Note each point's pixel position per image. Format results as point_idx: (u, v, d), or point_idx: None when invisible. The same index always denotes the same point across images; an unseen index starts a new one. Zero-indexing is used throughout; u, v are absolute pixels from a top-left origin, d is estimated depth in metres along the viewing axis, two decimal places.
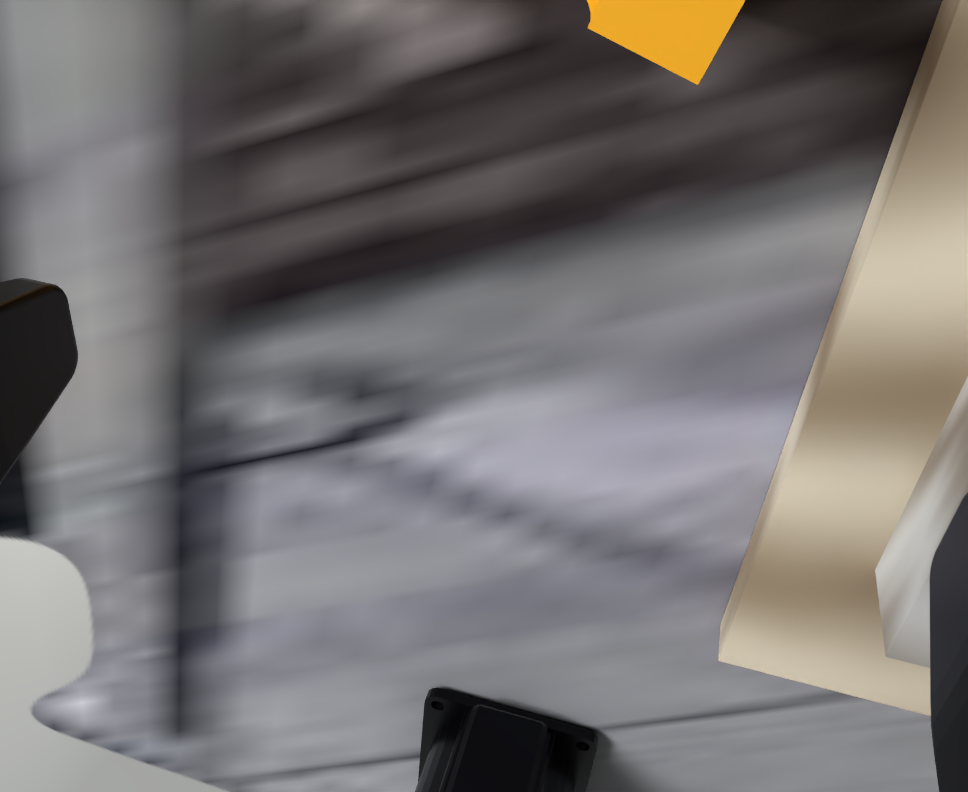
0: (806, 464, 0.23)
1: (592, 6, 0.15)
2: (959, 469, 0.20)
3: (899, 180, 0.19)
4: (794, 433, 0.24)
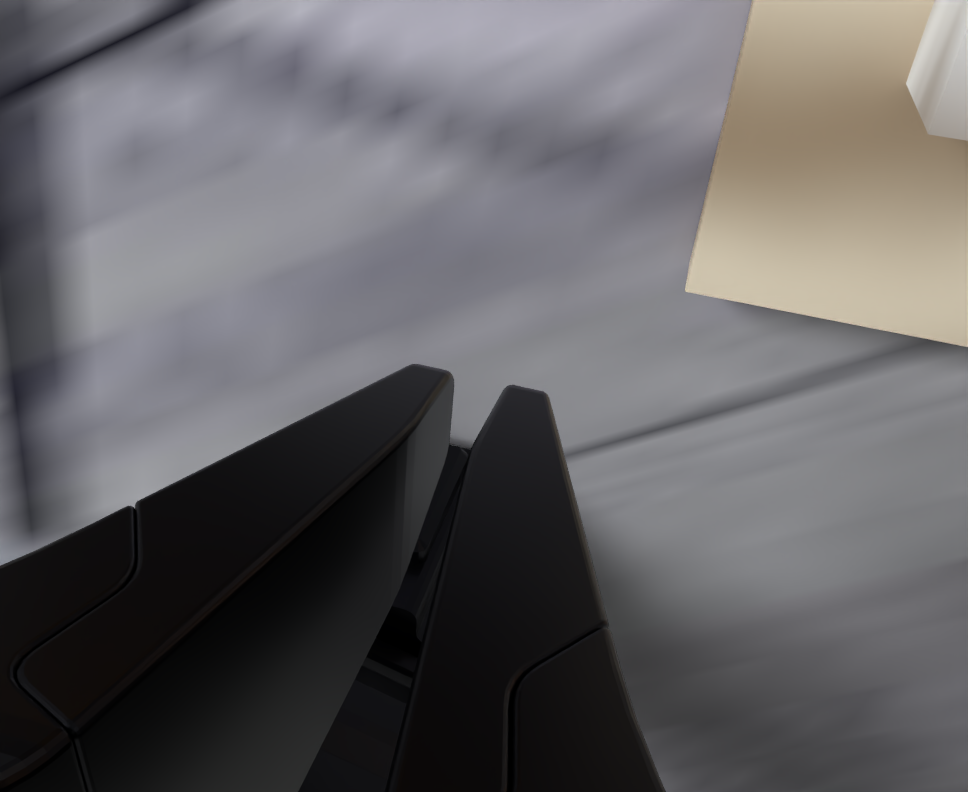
0: None
1: None
2: None
3: None
4: None
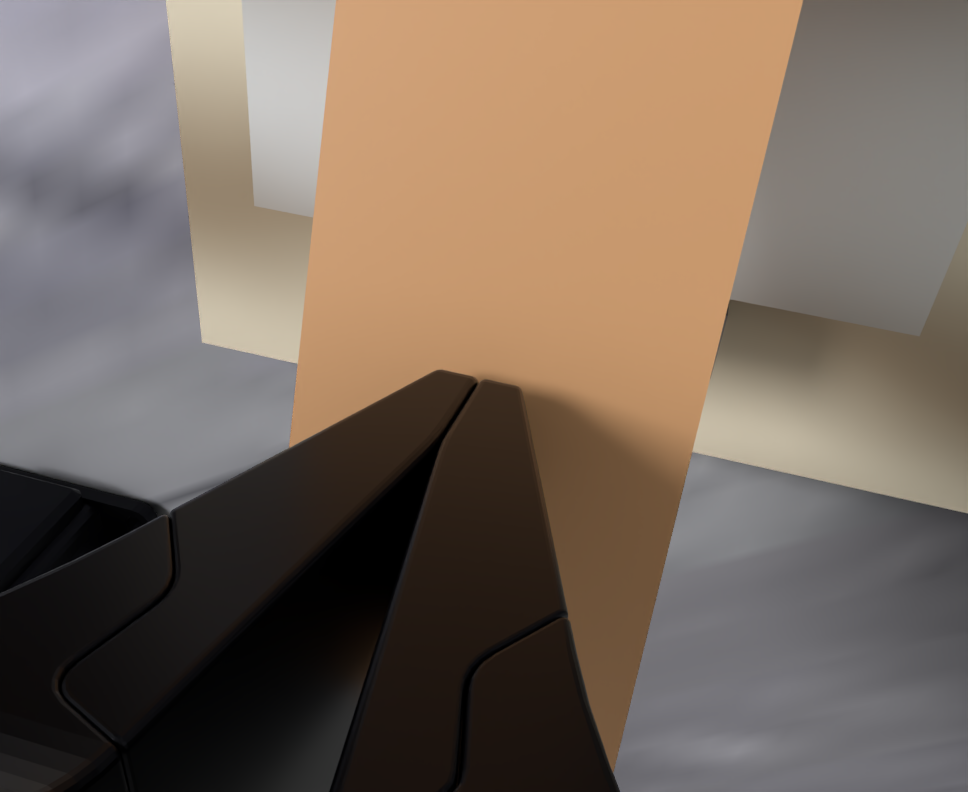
0: None
1: None
2: None
3: None
4: None
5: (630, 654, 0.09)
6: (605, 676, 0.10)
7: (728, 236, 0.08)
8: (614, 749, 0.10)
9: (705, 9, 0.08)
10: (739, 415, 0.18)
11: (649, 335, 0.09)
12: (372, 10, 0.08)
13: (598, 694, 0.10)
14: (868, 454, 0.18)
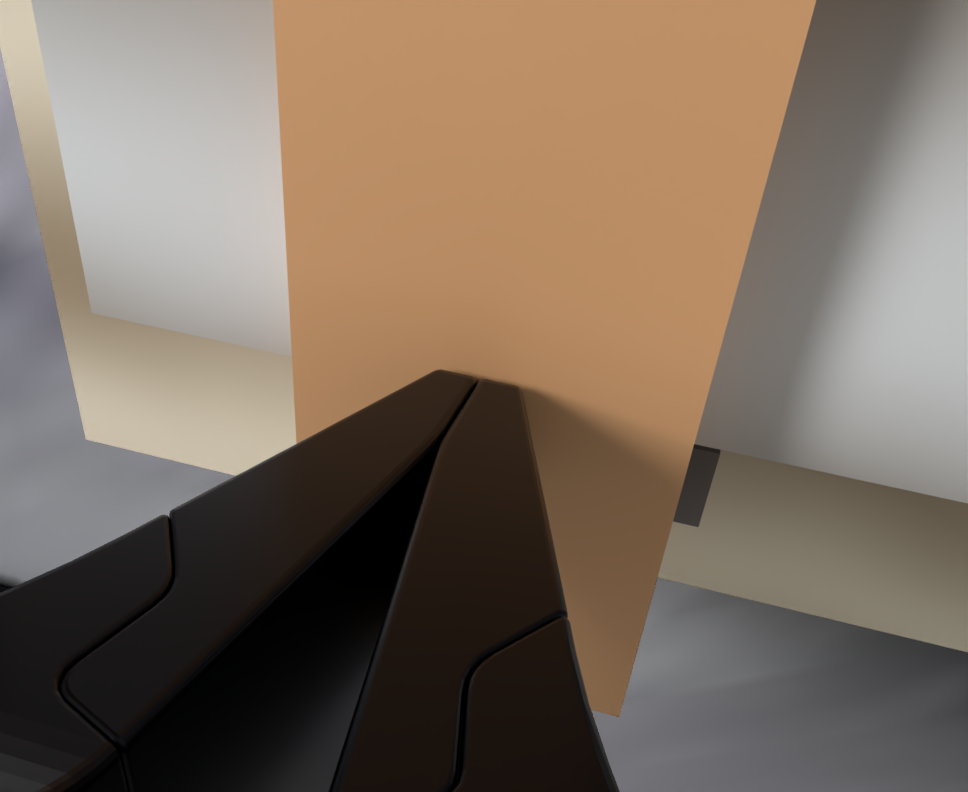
0: None
1: None
2: None
3: None
4: None
5: (632, 631, 0.10)
6: (609, 646, 0.10)
7: (718, 292, 0.08)
8: (620, 696, 0.11)
9: (689, 61, 0.07)
10: (737, 544, 0.14)
11: (638, 380, 0.08)
12: (316, 59, 0.07)
13: (603, 657, 0.11)
14: (898, 594, 0.14)
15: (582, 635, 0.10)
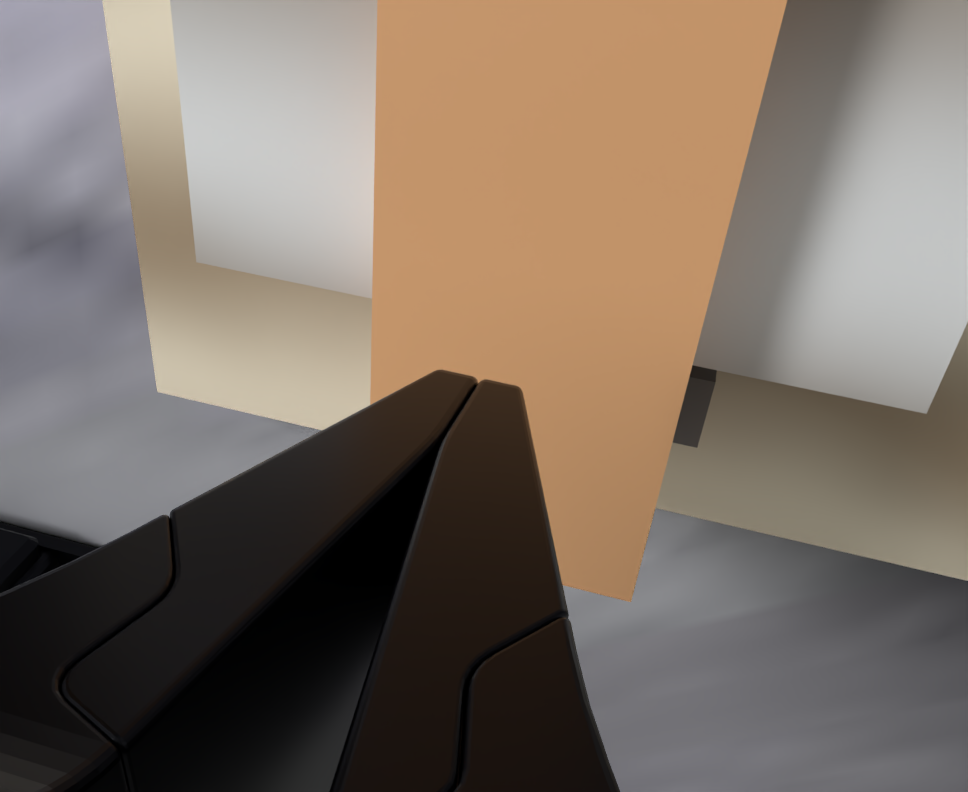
0: None
1: None
2: None
3: None
4: None
5: (643, 523, 0.12)
6: (624, 537, 0.13)
7: (714, 230, 0.10)
8: (632, 583, 0.13)
9: (693, 51, 0.09)
10: (730, 477, 0.17)
11: (651, 303, 0.11)
12: (408, 48, 0.10)
13: (618, 548, 0.13)
14: (868, 519, 0.16)
15: (601, 528, 0.13)
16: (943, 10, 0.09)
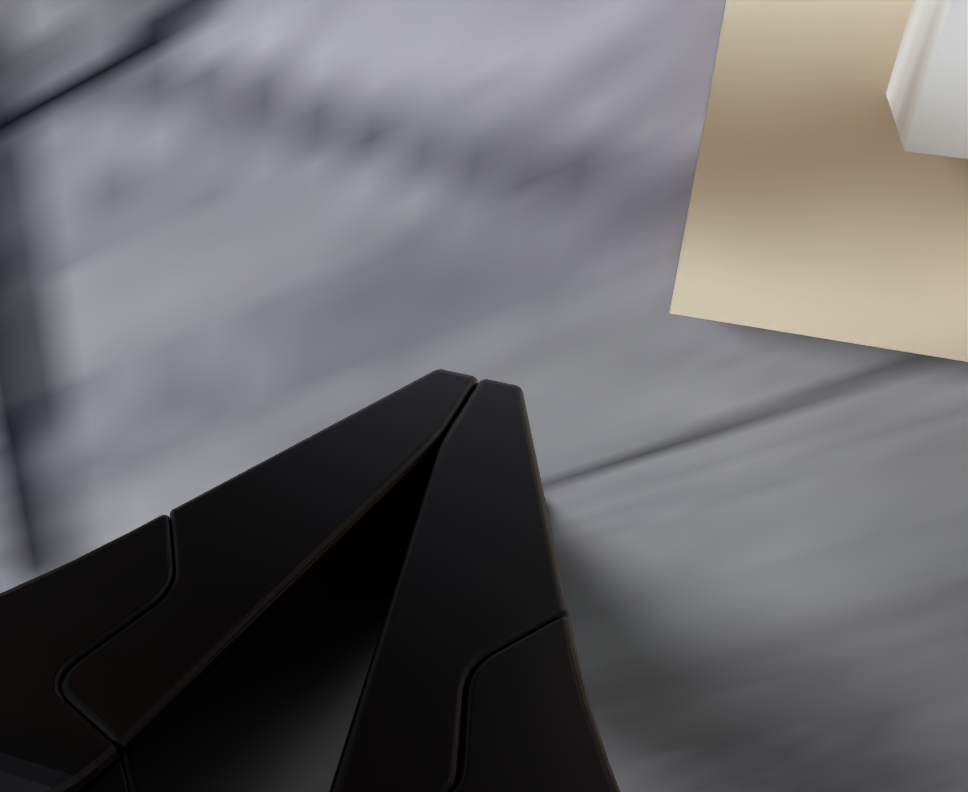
0: None
1: None
2: None
3: None
4: None
5: None
6: None
7: None
8: None
9: None
10: None
11: None
12: None
13: None
14: None
15: None
16: None
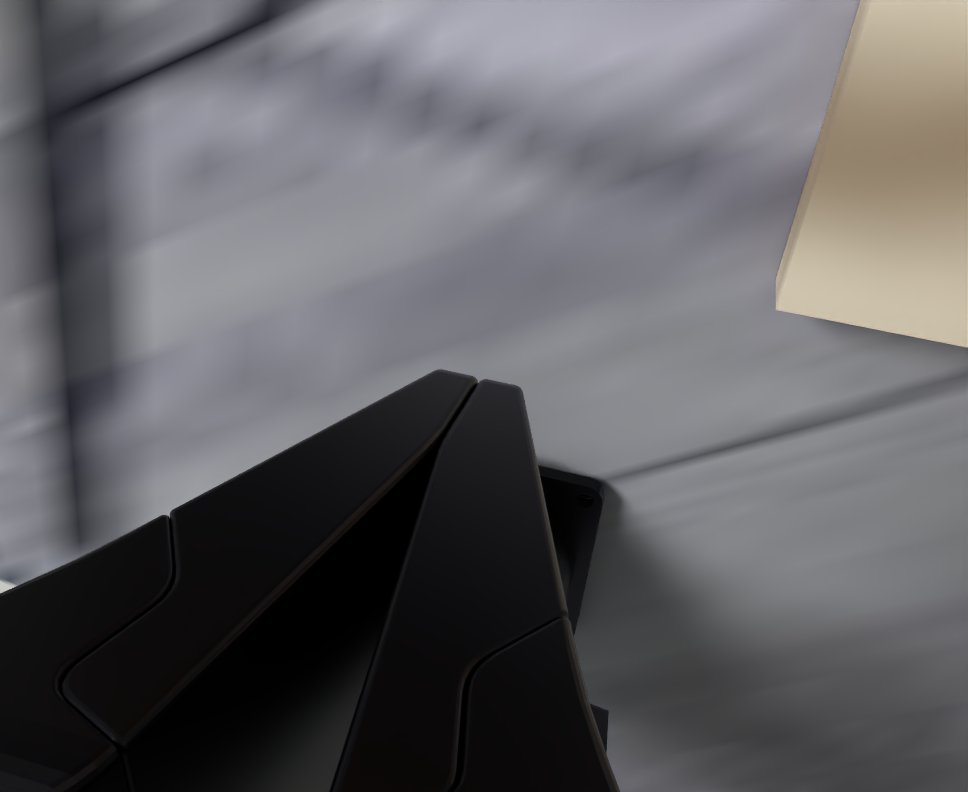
0: None
1: None
2: None
3: None
4: None
5: None
6: None
7: None
8: None
9: None
10: None
11: None
12: None
13: None
14: None
15: None
16: None
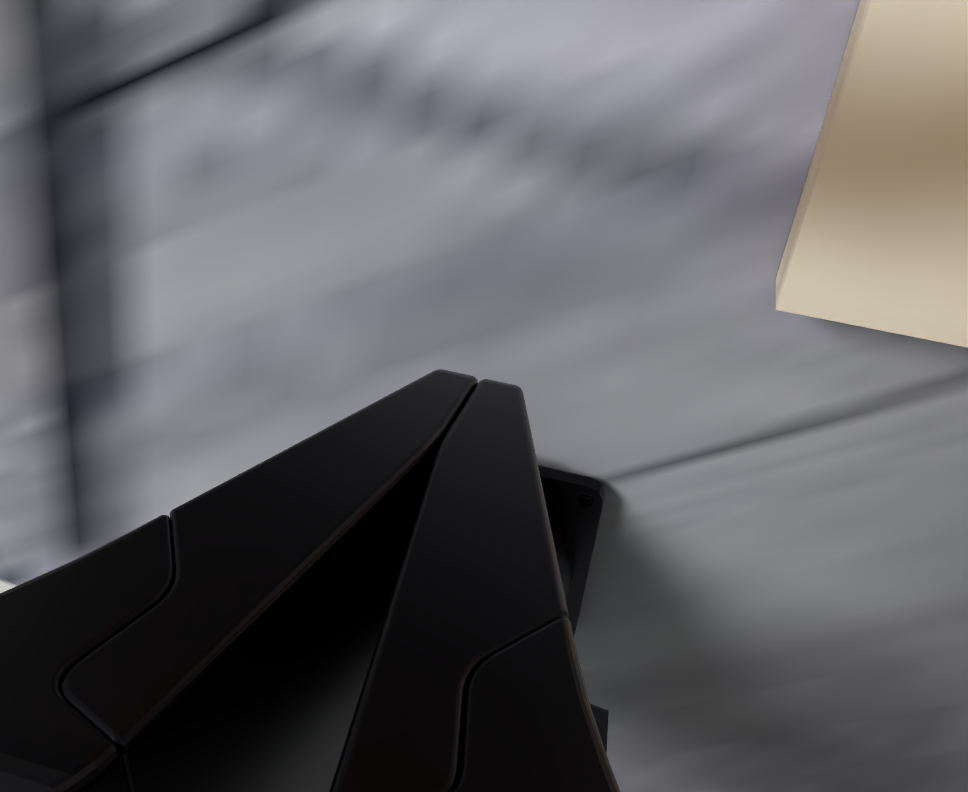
0: None
1: None
2: None
3: None
4: None
5: None
6: None
7: None
8: None
9: None
10: None
11: None
12: None
13: None
14: None
15: None
16: None
